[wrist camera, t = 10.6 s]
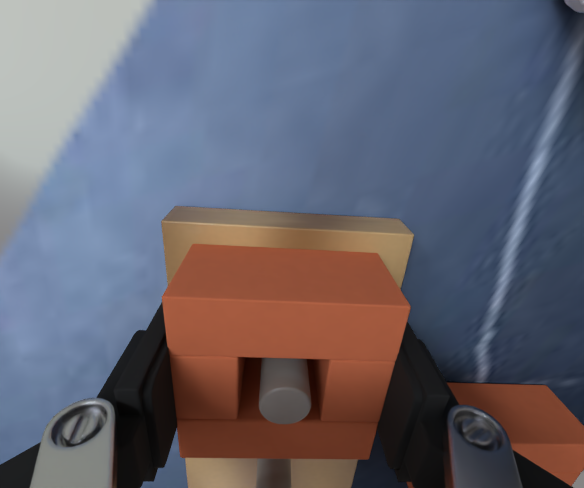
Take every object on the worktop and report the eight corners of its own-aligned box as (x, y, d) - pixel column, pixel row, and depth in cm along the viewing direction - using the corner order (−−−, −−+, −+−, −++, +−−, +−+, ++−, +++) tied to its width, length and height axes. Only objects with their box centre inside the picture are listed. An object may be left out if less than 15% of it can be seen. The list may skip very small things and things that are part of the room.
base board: (399, 218, 12) (474, 296, 7) (345, 460, 18) (367, 588, 13) (174, 205, 11) (105, 280, 7) (195, 459, 17) (165, 590, 13)
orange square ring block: (546, 384, 16) (602, 445, 13) (503, 462, 18) (542, 527, 15) (425, 381, 15) (457, 443, 13) (399, 461, 18) (420, 527, 15)
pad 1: (377, 252, 11) (411, 307, 8) (350, 384, 13) (369, 460, 10) (192, 243, 10) (161, 296, 8) (200, 381, 13) (179, 459, 10)
